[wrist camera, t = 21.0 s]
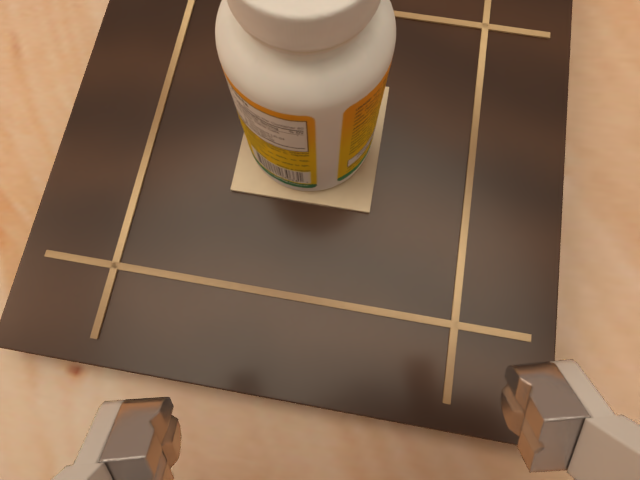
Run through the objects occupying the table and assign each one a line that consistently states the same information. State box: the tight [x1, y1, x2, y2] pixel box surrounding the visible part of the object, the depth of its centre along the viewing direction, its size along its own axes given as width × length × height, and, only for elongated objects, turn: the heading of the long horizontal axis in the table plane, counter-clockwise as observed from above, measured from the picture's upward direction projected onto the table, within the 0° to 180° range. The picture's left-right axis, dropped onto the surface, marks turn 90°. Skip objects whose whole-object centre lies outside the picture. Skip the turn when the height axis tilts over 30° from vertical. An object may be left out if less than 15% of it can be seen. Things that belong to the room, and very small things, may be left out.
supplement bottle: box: [215, 0, 396, 191], centre depth 15 cm, size 5×5×10 cm
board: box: [0, 0, 572, 445], centre depth 21 cm, size 22×22×2 cm
